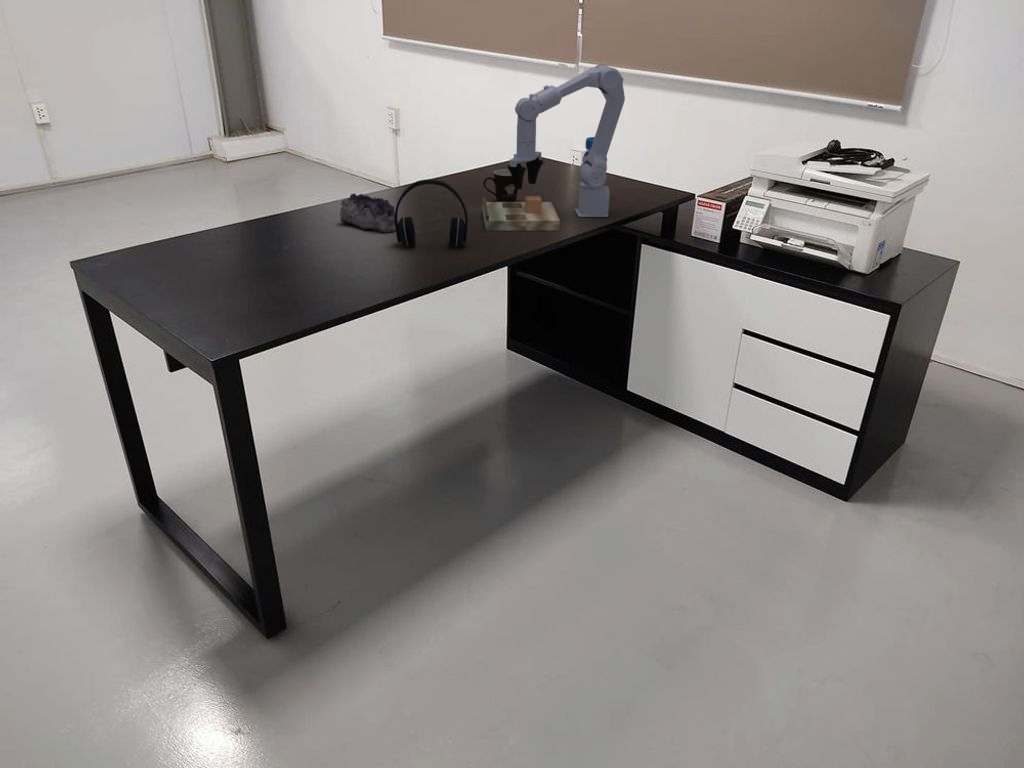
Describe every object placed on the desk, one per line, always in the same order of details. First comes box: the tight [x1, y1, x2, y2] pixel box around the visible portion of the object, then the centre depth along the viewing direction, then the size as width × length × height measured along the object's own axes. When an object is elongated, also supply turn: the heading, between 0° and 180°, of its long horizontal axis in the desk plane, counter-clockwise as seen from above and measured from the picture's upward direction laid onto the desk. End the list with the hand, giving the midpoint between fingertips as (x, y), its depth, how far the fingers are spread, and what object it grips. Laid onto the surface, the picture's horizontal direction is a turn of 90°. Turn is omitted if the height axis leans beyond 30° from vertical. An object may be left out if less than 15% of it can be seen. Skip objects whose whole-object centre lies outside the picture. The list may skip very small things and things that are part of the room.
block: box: [524, 195, 543, 213], centre depth 236 cm, size 4×4×4 cm
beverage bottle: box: [581, 136, 608, 186], centre depth 257 cm, size 8×8×20 cm
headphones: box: [394, 178, 469, 248], centre depth 211 cm, size 20×7×18 cm, turn 93°
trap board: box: [482, 197, 561, 232], centre depth 237 cm, size 22×20×4 cm
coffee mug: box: [482, 168, 519, 202], centre depth 253 cm, size 12×9×10 cm
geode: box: [339, 192, 396, 235], centre depth 228 cm, size 20×12×10 cm, turn 54°
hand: (525, 186), depth 237 cm, fingers open, 7 cm apart
